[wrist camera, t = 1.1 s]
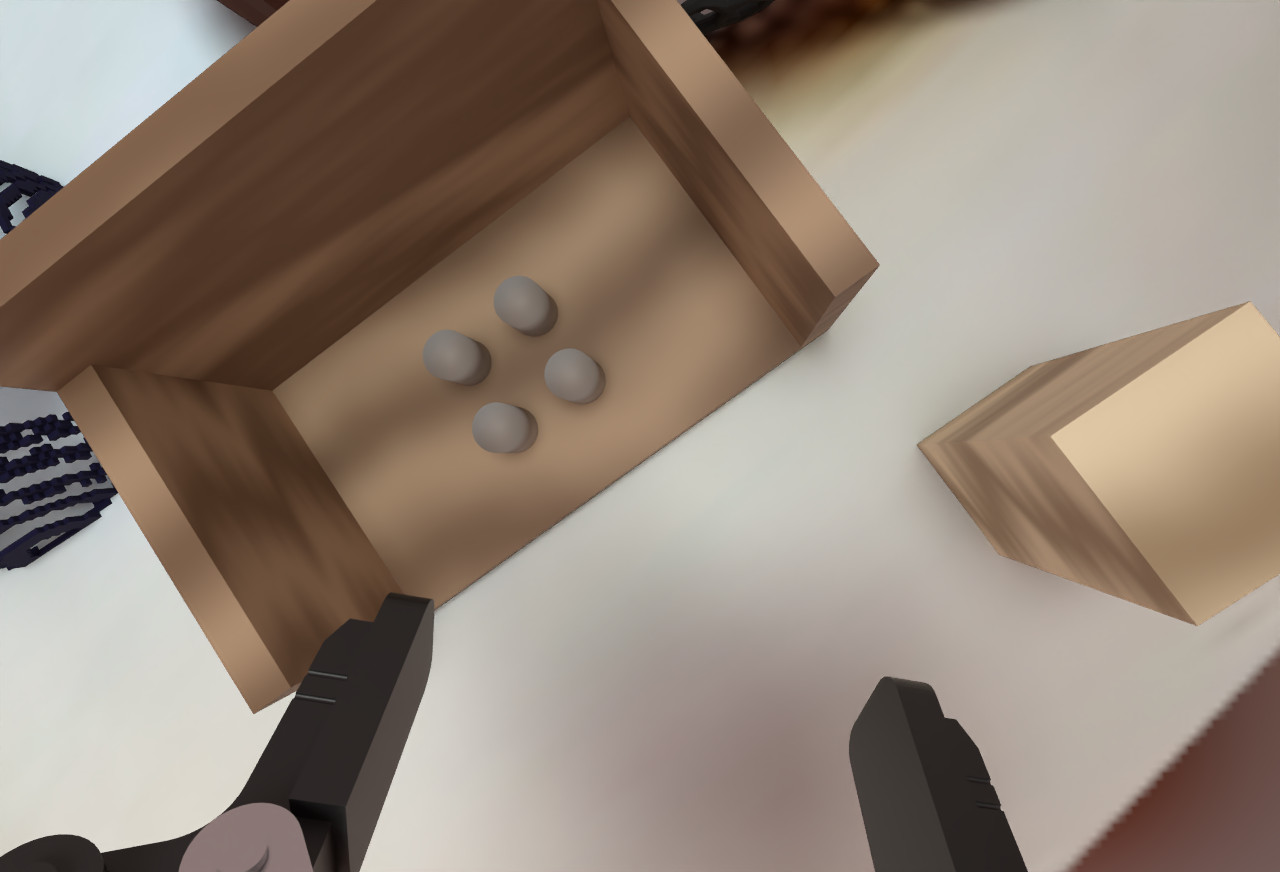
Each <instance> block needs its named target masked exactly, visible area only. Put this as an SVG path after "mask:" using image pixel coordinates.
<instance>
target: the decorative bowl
mask: <svg viewBox="0 0 1280 872" xmlns="http://www.w3.org/2000/svg"><path fill="white" fill-rule="evenodd" d="M5 182H7V183H9V182H10V183H12V184H11V185H10V186H9V187H7V188H6V189H4V190H3V191H2V192H0V226H1V228H2V230H3V232H4V233H6V234H8V233H9V232H10V231H12V230H13V229H14V228H15V226H12V224H11V222H10V220H12V219H13V216H12V214H11V212H10V210H9V208H8V207H10V206H11V205H12V204H14V203H15V202H16V201H17V200H19V199H20V198H21V197H22V195H21V193H22V194H24V195H27V196H30V197H31V196H32V195H33V196H32V197H31V198H30V199H28V200H27V201H26V202H27V203H28V205H29V207H27V208H26V209H25V210H24V211H22V213H23V215H24V217H25V219H26V218H27V217H28V216H30V215H31V214H32V213H33V212H34V211H36V210H37V209H38V208H39V207H41V206H42V205H43V204H44V203H45V202H47V201H48V200H49V199H50V198H51V197H53V196H54V195H55V194H56V193H57V192H59V191H60V190H61V189H62V188H64V187H63V186H61V185H60V183H59V182H57V181H54V180H52V179H49V178H47V177H45V176H42V175H41V176H39V175H38V174H37V173H34V172H32V171H29V170H27V169H24V168H22V167H20V166H17V165H15V164H13V165H12V164H9V163H7V162H4V161H2V160H0V186H1V185H2V184H3V183H5ZM36 192H37V193H36ZM35 193H36V194H35ZM34 194H35V195H34ZM62 416H63V418H64V420H58V418H57V416H56V415H52V414H50V415H48V416H47V417H45V418H42V417H38V418H37V419H36V420H34V421H31V420H27V421H26V422H24V423H23V424H19V423H9V424H7V425H6V426H0V453H6V452H7V451H9V450H17V449H18V448H20V447H28V446H29V445H31V444H39V443H40V442H42V441H43V439H42V437H41V435H47V436H48V438H49V440H50V441H56V440H57V439H59V438H60V437H62V438H66V437H68V436H69V435H71V434H73V435H77V434H78V433H80V432H81V431H80V429H79V427H78V426H73V425H72V423H71V421H74V419H73V418H72V416H71V414H70V413H69V412H66V413H64V414H63V415H62ZM25 429H32V431H33V433H34V435H27V436H25V437H24V438H23V437H22V435H21V433H20V432H22V431H23V430H25ZM83 439H84V440H85V442H86V443H80V444H78V445H77V446H64V447H62V448H61V449H53V447H52V445H51V444H44V445H42V446H41V447H33V448H31V449H30V450H29V451H30V453H31V455H32V456H24V457H23V458H21V459H13V460H12V461H10V462H9V461H8V459H7V457H0V483H7V482H9V481H10V480H12V479H13V478H14V477H16V476H24V475H25V474H27V473H34V472H36V471H37V470H42V469H46V468H48V467H49V466H56V465H58V464H59V463H60V462H59V460H58V458H64V460H65V462H66V463H72V462H74V461H75V460H88V459H89V458H91V457H92V456H91V454H90V452H93V450H92V449H91V447H90V445H89V444H88V442H87V440H86V439H85V437H84V438H83ZM89 467H90V469H91V470H92V471H80V472H78V473H77V474H65V475H63V476H62V477H57V478H53V479H52V480H50V481H43V482H41V483H40V484H33V485H31V486H30V487H28V488H21V489H19V490H18V491H11V492H9V493H8V494H6V493H5V491H4V489H0V506H6V505H8V504H9V503H11V502H12V501H14V500H16V499H22V501H23V503H24V504H31V503H33V502H34V501H41V500H43V499H44V498H46V497H52V496H54V495H55V494H62V493H64V492H65V491H67V490H66V488H65V486H64V485H71V484H72V483H74V482H80V483H81V485H82V487H88V486H90V485H91V484H92V482H91V480H90V479H95V480H96V482H97V483H104V482H105V481H107V479H106V477H105V475H107V473H106V472H105V470H104V468H101V466H100V464H99V463H92V464H91V465H89ZM112 485H113V483H112ZM113 487H114V488H107V489H93V490H92V491H90V492H84V493H82V494H81V495H78V496H68V497H66V498H65V499H58V500H57V501H55V502H53V503H47V504H46V505H44V506H37V507H36V508H34V509H32V510H26V511H25V512H23V513H22V514H20V515H19V516H12V517H10V518H9V519H7V520H0V534H2V533H3V532H5V531H6V530H8V529H9V528H11V527H12V526H14V525H15V524H22V523H24V522H25V521H29V520H33V519H35V518H36V517H43V516H44V515H46V514H48V513H49V512H51V511H53V510H63V509H65V508H66V507H70V506H74V505H76V504H77V503H89V502H92V503H93V505H94V508H93V509H91V510H90V511H88V512H87V513H85V514H84V515H82V516H74V517H66V518H65V519H63V520H58V521H55V522H54V523H52V524H46V525H45V526H43V527H39V528H35V529H34V530H32V531H31V532H29V533H28V534H26V535H25V536H23V537H22V538H20V539H18V540H17V541H15V542H14V543H12V544H11V545H9V546H8V547H6V548H5V549H3V550H2V551H0V569H1V568H6V567H7V569H8V570H11V569H13V568H20V567H25V566H27V565H28V564H30V563H31V562H33V561H35V560H36V559H38V558H39V557H41V556H42V555H44V554H45V553H47V552H48V551H50V550H51V549H53V548H54V547H56V546H57V545H59V544H61V543H62V542H64V541H65V540H67V539H68V538H70V537H71V536H73V535H74V534H76V533H77V532H79V531H80V530H82V529H83V528H85V527H86V526H88V525H90V524H91V523H93V522H94V521H96V520H97V519H99V518H100V517H102V516H101V514H100V511H101V510H103V509H104V508H106V507H107V506H109V505H110V504H112V502H111V500H110V498H111V497H113V496H114V495H116V494H117V493H118V491H117V490H116V488H115V486H114V485H113ZM63 532H66V533H64V534H63V535H61V536H60V537H58V538H57V539H55V540H54V541H52V542H51V543H49V544H48V545H46V546H45V547H43V548H42V549H40V550H39V549H38V547H37V546H35V547H33V548H32V549H30V548H31V547H32V546H34V545H35V544H37V543H38V542H40V541H41V540H44V539H49V538H51V537H52V536H58V535H60V534H61V533H63Z"/></svg>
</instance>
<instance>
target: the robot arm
mask: <svg viewBox="0 0 1280 872" xmlns="http://www.w3.org/2000/svg"><path fill="white" fill-rule="evenodd" d="M433 627H434V600H433V599H430V598H424V597H418V596H412V595H406V594H400V593H394V592H390V593H389V594H388V595H387V596H386V598H385V599H384V601H383V603H382V605H381V608H380V610H379V612H378V614H377V616H376V618H375V620H374V622H369V621H363V620H356V619H349V620H348V621H346V622H345V623H344V624H343V625H342V626H341V627H339V628H338V629H337V630H336V631H335V632H334V633H333V634H331V635H330V636H329V637H328V638H327V639H326V640H324V642H323V644H322V646H321V647H320V649H319V651H318V653H317V655H316V657H315V658H314V660H313V662H312V664H311V666H310V668H309V671H308V674H307V675H305V677H304V679H303V680H302V682H301V684H300V686H299V688H298V690H297V691H296V695H295V698H294V699H292V701H291V702H290V704H289V706H288V708H287V710H286V712H285V713H284V715H283V717H282V719H281V721H280V723H279V725H278V726H277V728H276V730H275V732H274V734H273V736H272V737H271V739H270V741H269V743H268V745H267V747H266V748H265V750H264V752H263V754H262V756H261V758H260V759H259V761H258V763H257V765H256V767H255V769H254V770H253V772H252V774H251V776H250V778H249V780H248V781H247V783H246V785H245V787H244V788H243V790H242V792H241V793H240V795H239V796H238V797H237V798H236V800H235V801H234V802H233V803H232V804H231V805H230V806H229V807H228V808H227V809H226V810H225V811H224V812H223V813H222V814H221V815H219V816H218V817H217V818H216V819H214V820H212V821H211V822H210V823H208V824H207V825H205V826H204V827H202V828H200V829H198V830H196V831H194V832H192V833H190V834H187V835H185V836H182V837H179V838H176V839H172V840H168V841H163V842H158V843H153V844H147V845H142V846H136V847H131V848H125V849H120V850H114V851H109V852H104V853H100V851H99V850H98V848H97V847H96V846H95V844H93V843H92V842H90V841H89V840H88V839H85V838H83V837H80V836H75V835H53V836H46V837H43V838H39V839H36V840H33V841H30V842H28V843H25V844H23V845H21V846H19V847H17V848H15V849H13V850H11V851H9V852H8V853H6V854H5V855H3V856H1V857H0V872H359V871H360V868H361V866H362V863H363V860H364V857H365V855H366V852H367V849H368V846H369V843H370V841H371V838H372V835H373V832H374V830H375V827H376V824H377V821H378V819H379V816H380V813H381V810H382V807H383V805H384V802H385V799H386V796H387V794H388V791H389V788H390V785H391V782H392V780H393V777H394V774H395V771H396V769H397V766H398V763H399V760H400V758H401V755H402V752H403V749H404V746H405V744H406V741H407V738H408V735H409V733H410V730H411V727H412V724H413V721H414V719H415V716H416V713H417V710H418V708H419V705H420V702H421V699H422V697H423V694H424V691H425V688H426V684H427V681H428V677H429V672H430V667H431V661H432V649H433ZM849 756H850V763H851V767H852V772H853V776H854V781H855V785H856V789H857V794H858V798H859V803H860V807H861V811H862V816H863V820H864V824H865V829H866V833H867V838H868V842H869V846H870V851H871V855H872V860H873V864H874V868H875V872H1028V871H1027V868H1026V866H1025V863H1024V861H1023V858H1022V856H1021V853H1020V851H1019V848H1018V846H1017V844H1016V841H1015V839H1014V836H1013V834H1012V831H1011V829H1010V826H1009V824H1008V821H1007V819H1006V816H1005V814H1004V811H1001V809H1000V806H1001V804H1000V801H999V799H998V796H997V794H996V791H995V789H994V786H993V785H991V784H990V780H991V779H990V776H989V774H988V771H987V769H986V766H985V764H984V761H983V759H982V756H981V754H980V752H979V749H978V747H977V746H976V745H975V744H974V742H973V741H972V740H971V738H970V737H969V736H968V734H967V733H966V732H965V730H964V729H963V728H962V727H961V725H960V724H959V723H958V721H957V720H955V719H949V718H944V715H943V712H942V710H941V707H940V704H939V702H938V699H937V696H936V694H935V692H934V690H933V688H932V687H931V686H930V685H929V684H927V683H923V682H917V681H911V680H905V679H899V678H893V677H884V678H882V679H881V680H880V681H879V683H878V685H877V686H876V688H875V690H874V691H873V693H872V695H871V696H870V698H869V700H868V702H867V703H866V705H865V707H864V708H863V710H862V712H861V713H860V715H859V717H858V719H857V720H856V722H855V724H854V726H853V728H852V731H851V735H850V742H849Z"/></svg>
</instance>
